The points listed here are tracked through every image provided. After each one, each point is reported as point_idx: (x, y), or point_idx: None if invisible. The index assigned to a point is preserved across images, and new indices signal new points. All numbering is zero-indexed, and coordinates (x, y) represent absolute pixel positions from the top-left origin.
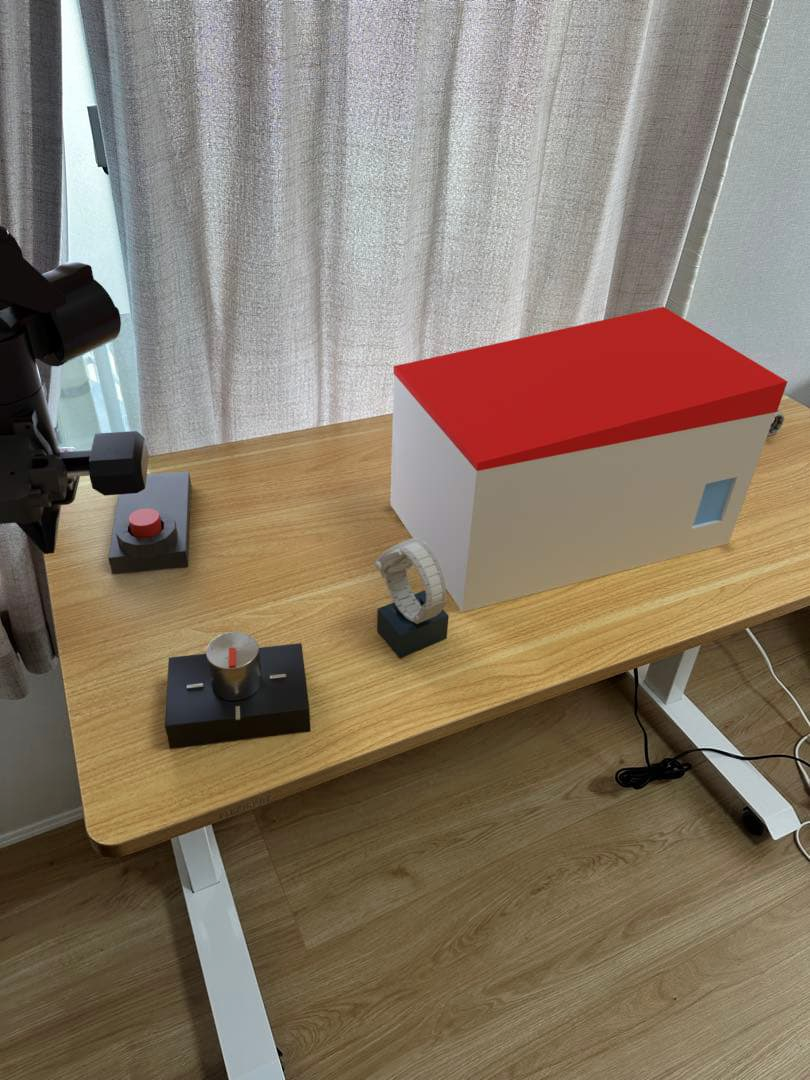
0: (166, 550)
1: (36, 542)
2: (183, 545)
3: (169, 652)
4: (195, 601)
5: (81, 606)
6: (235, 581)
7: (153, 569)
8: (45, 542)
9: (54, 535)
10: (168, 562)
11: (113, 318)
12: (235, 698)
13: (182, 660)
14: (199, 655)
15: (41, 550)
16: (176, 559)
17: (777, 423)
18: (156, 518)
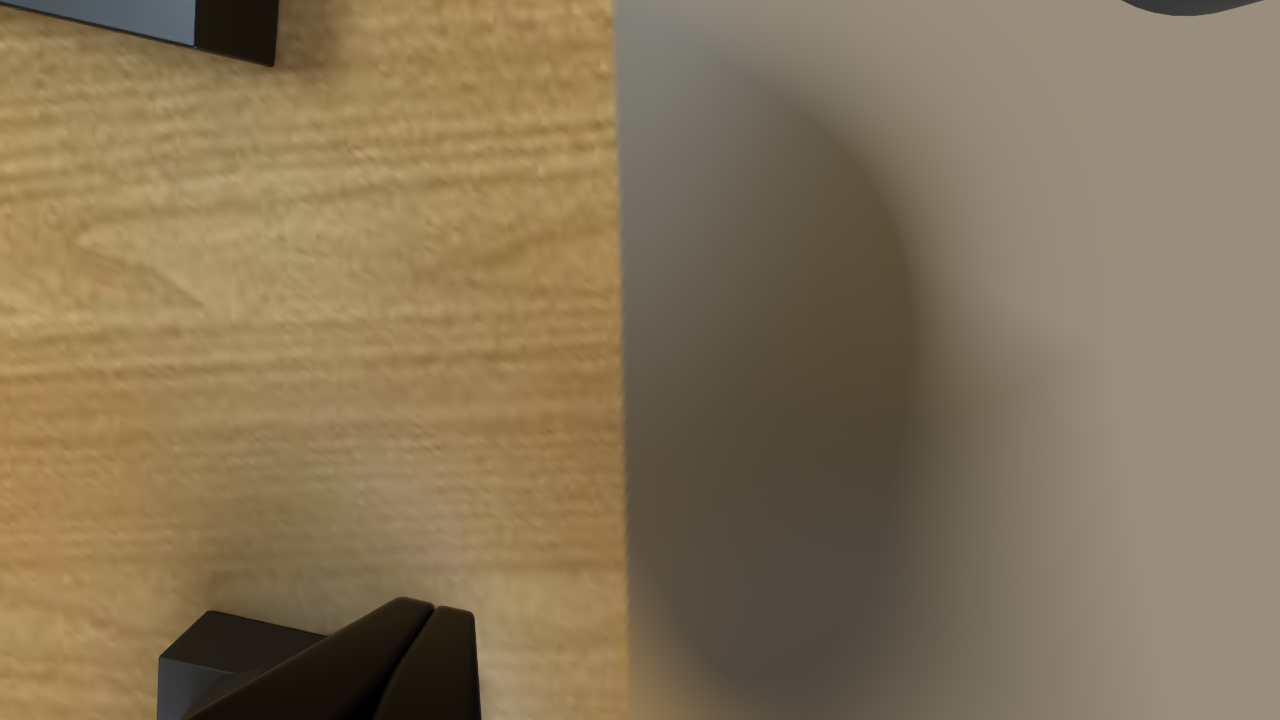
0: (221, 681)
1: (452, 695)
2: (165, 688)
3: (284, 218)
4: (189, 438)
5: (560, 551)
6: (53, 486)
7: (319, 636)
8: (375, 672)
9: (216, 701)
10: (252, 641)
11: None
12: None
13: (138, 4)
14: (69, 10)
15: (468, 631)
16: (218, 641)
17: None
18: None
